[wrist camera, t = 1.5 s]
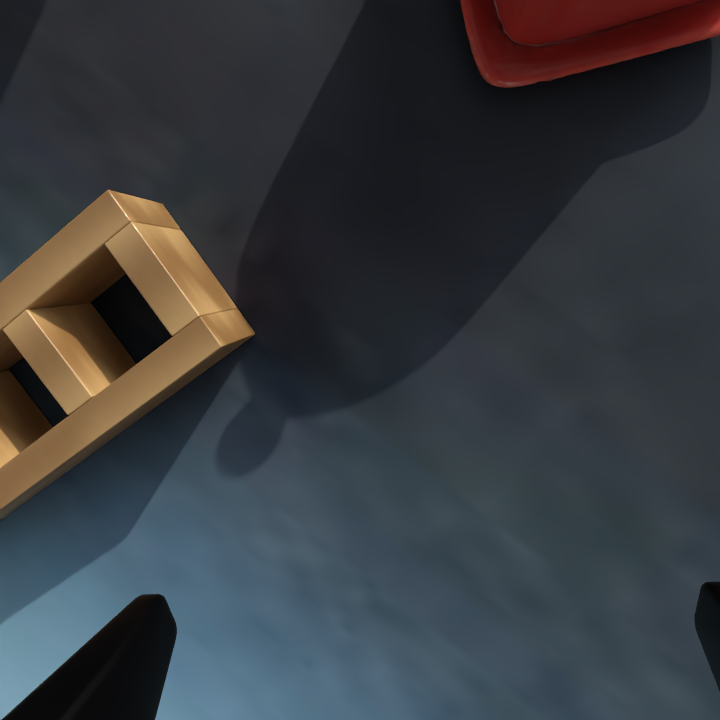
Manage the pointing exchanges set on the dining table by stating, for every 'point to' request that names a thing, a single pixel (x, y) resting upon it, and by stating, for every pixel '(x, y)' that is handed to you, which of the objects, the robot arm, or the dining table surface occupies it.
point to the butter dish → (577, 34)
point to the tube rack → (101, 336)
